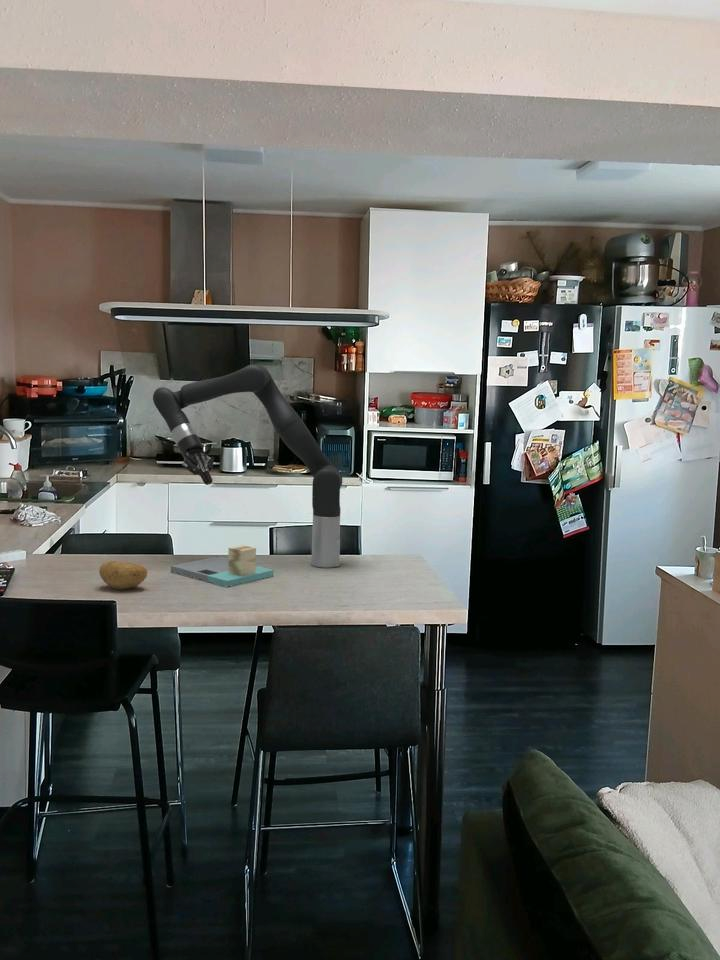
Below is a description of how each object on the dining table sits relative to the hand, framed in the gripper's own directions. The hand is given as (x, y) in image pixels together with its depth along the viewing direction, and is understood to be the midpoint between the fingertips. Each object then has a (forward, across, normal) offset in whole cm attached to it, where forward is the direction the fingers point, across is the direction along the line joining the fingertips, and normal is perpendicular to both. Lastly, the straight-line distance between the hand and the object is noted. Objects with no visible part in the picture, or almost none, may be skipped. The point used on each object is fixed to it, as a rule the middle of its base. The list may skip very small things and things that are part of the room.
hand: (209, 483), depth 285 cm
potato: (+24, -38, +13) cm, 47 cm away
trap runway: (+29, -6, +8) cm, 30 cm away
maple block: (+33, -6, 0) cm, 33 cm away
